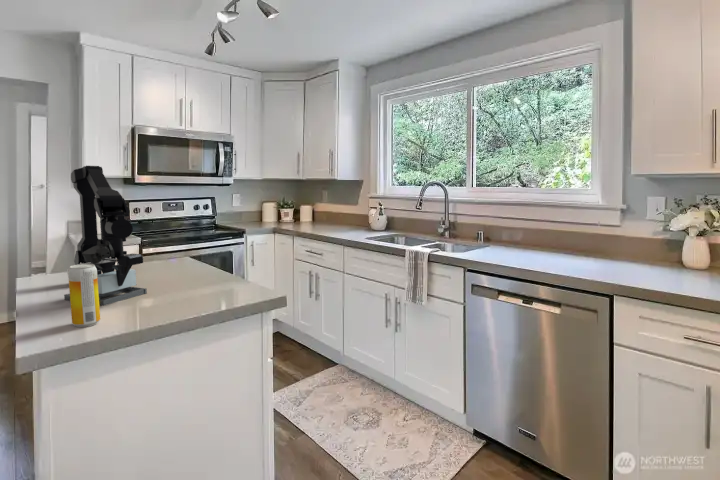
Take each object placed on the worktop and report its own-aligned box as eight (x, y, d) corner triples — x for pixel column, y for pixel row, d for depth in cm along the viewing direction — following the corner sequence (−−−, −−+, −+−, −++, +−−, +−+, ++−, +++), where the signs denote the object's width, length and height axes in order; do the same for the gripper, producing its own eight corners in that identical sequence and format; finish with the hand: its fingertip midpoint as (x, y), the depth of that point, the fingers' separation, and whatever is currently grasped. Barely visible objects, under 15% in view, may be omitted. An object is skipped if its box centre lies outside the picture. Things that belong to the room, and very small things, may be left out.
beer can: (93, 318, 114) (89, 262, 112) (105, 323, 110) (101, 265, 109) (67, 324, 109) (63, 266, 107) (79, 329, 106) (74, 269, 104)
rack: (62, 300, 131) (61, 288, 131) (109, 288, 146) (108, 278, 145) (101, 306, 125) (101, 294, 125) (146, 293, 140) (146, 282, 140)
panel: (92, 292, 129) (91, 276, 129) (127, 283, 140) (126, 268, 140) (102, 293, 128) (101, 277, 127) (136, 285, 139) (135, 269, 138)
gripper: (64, 236, 128) (68, 288, 130) (110, 240, 121) (114, 294, 123) (99, 232, 138) (102, 280, 140) (143, 236, 132) (146, 286, 134)
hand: (115, 285), depth 134 cm, fingers closed on panel, 4 cm apart
